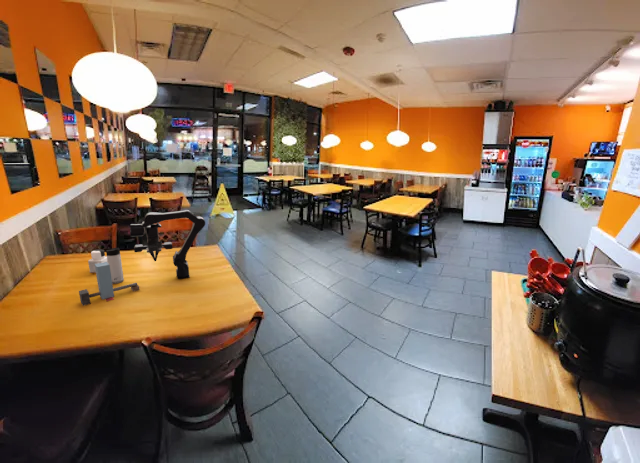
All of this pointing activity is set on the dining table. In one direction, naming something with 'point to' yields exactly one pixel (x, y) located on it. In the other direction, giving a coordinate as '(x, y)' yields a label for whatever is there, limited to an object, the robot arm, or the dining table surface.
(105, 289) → the sleeve
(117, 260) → the travel mug
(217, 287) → the dining table surface
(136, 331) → the dining table surface
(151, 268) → the dining table surface
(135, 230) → the robot arm
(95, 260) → the container
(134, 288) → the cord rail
